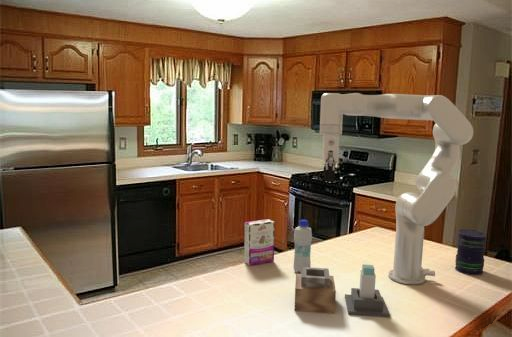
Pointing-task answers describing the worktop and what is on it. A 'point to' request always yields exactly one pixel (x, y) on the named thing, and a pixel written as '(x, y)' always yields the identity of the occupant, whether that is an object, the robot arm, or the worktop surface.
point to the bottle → (302, 246)
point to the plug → (367, 282)
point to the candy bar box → (259, 242)
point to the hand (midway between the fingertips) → (328, 179)
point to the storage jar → (470, 252)
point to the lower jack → (366, 304)
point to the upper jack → (315, 291)
